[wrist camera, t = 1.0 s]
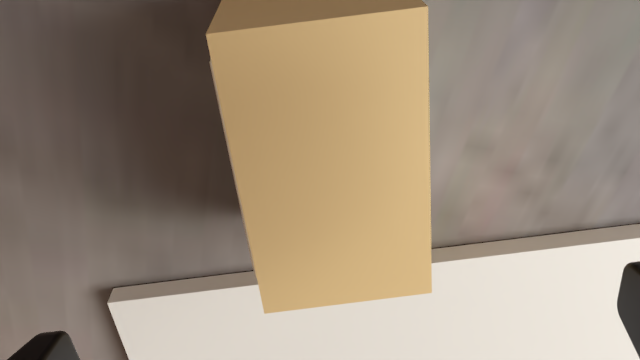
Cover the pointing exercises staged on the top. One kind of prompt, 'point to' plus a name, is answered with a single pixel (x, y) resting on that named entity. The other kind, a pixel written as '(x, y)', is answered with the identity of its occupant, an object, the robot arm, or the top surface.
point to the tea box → (328, 145)
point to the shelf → (407, 310)
